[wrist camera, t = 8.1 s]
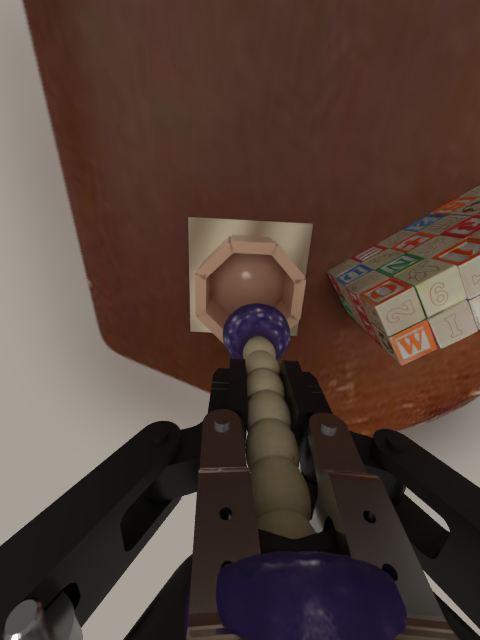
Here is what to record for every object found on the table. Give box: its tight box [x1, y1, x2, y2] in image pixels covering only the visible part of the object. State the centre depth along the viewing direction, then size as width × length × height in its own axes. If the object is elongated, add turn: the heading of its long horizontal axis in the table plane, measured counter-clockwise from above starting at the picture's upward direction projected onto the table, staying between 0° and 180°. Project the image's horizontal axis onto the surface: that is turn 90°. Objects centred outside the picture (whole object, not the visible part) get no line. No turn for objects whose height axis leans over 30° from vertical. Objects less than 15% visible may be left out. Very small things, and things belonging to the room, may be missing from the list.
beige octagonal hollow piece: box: [195, 235, 306, 343], centre depth 27 cm, size 10×10×6 cm
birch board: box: [188, 217, 313, 336], centre depth 31 cm, size 13×13×1 cm
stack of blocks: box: [327, 185, 480, 365], centre depth 25 cm, size 21×6×12 cm, turn 122°
